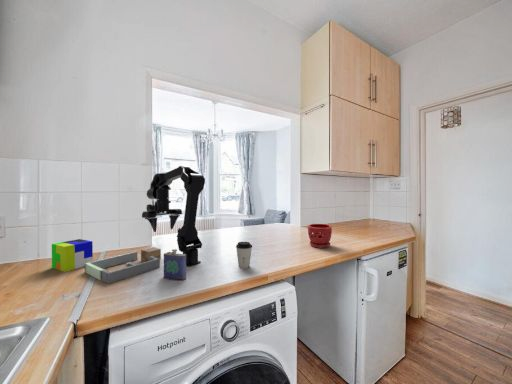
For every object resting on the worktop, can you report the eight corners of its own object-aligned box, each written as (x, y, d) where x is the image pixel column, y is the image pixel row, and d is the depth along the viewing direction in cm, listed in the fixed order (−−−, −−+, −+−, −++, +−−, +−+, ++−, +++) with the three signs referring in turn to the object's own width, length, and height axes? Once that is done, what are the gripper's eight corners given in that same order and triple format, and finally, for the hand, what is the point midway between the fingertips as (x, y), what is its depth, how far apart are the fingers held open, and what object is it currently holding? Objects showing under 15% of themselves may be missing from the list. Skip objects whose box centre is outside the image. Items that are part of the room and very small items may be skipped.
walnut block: (160, 259, 103) (160, 248, 102) (148, 263, 98) (148, 251, 97) (153, 257, 106) (153, 246, 106) (140, 260, 101) (140, 249, 101)
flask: (187, 278, 81) (187, 249, 81) (182, 281, 78) (182, 251, 78) (166, 275, 84) (166, 247, 83) (161, 278, 81) (160, 249, 81)
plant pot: (307, 242, 134) (307, 223, 134) (329, 243, 132) (330, 223, 132) (308, 248, 122) (308, 226, 121) (333, 249, 119) (333, 227, 119)
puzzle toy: (92, 264, 96) (92, 241, 96) (65, 271, 87) (64, 246, 87) (79, 260, 100) (79, 239, 100) (51, 268, 91) (51, 244, 91)
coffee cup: (255, 265, 95) (255, 242, 94) (247, 270, 88) (247, 245, 88) (241, 262, 98) (241, 240, 98) (232, 267, 92) (232, 243, 92)
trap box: (160, 266, 93) (160, 258, 92) (107, 283, 76) (107, 273, 76) (136, 258, 103) (136, 251, 103) (84, 272, 87) (84, 263, 87)
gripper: (169, 198, 122) (169, 226, 122) (135, 199, 106) (136, 232, 106) (182, 198, 116) (183, 228, 116) (148, 199, 100) (149, 234, 100)
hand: (163, 230), depth 109 cm, fingers open, 9 cm apart
